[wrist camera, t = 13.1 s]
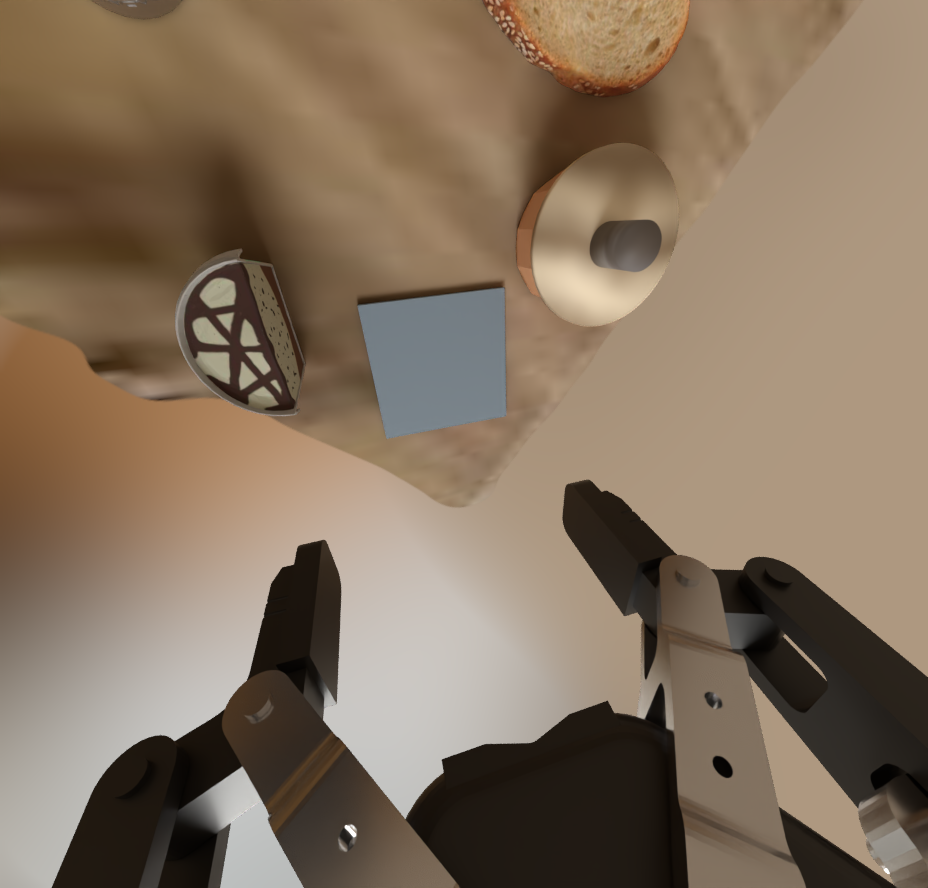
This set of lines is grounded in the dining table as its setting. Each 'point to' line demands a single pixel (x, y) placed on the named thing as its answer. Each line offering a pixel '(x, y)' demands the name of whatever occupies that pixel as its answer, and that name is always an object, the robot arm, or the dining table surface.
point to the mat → (437, 359)
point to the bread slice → (594, 39)
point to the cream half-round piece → (241, 335)
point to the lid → (604, 234)
